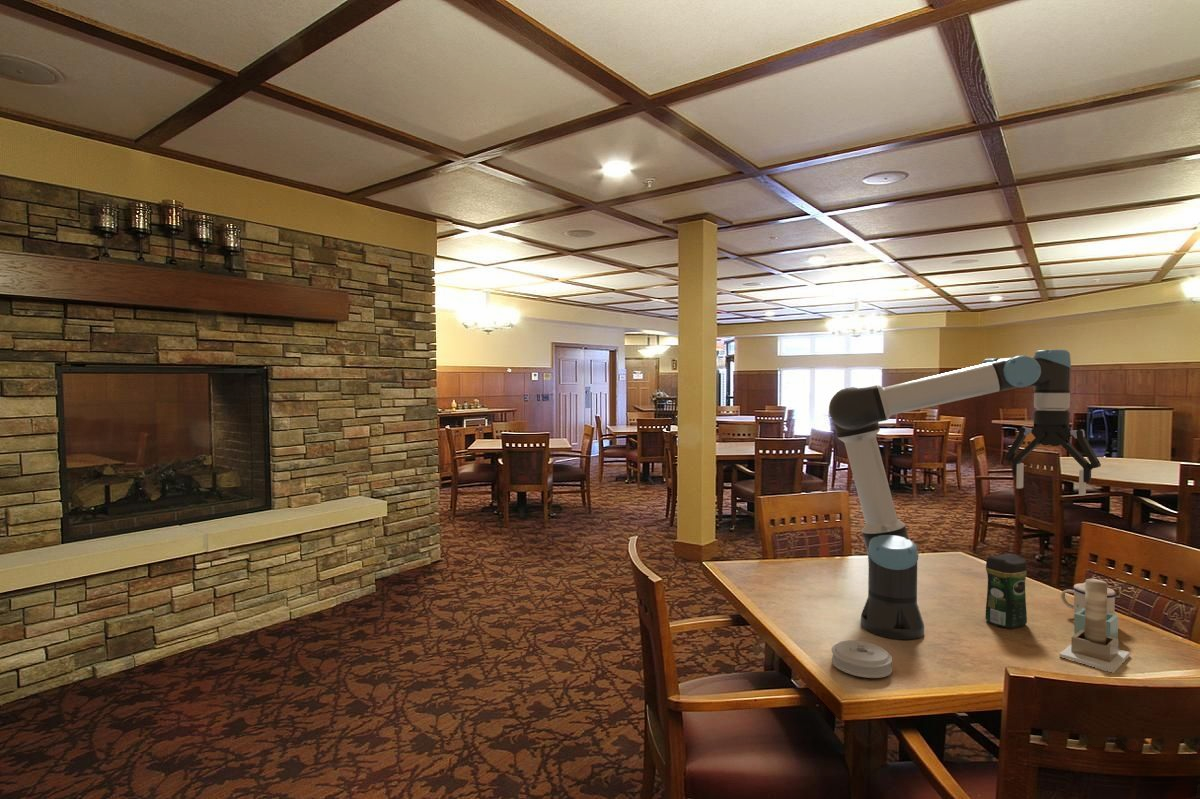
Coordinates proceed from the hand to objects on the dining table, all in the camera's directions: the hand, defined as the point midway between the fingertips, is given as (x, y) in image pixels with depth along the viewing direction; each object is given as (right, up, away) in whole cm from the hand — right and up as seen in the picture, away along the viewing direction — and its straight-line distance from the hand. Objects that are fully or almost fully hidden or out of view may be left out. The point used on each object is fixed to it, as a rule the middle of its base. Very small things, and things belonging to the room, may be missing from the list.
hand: (1050, 491), depth 160 cm
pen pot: (+9, -37, -3) cm, 38 cm away
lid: (-57, -38, -20) cm, 71 cm away
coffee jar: (-7, -37, +7) cm, 38 cm away
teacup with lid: (+17, -37, +9) cm, 41 cm away
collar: (0, -37, -14) cm, 40 cm away
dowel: (0, -36, -14) cm, 39 cm away
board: (0, -37, -14) cm, 40 cm away
